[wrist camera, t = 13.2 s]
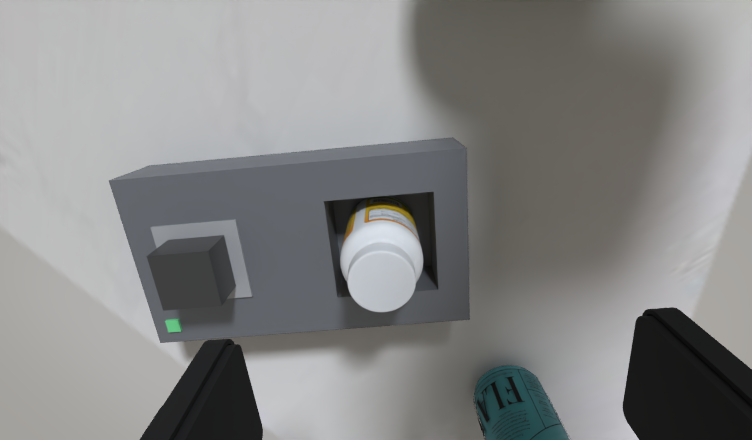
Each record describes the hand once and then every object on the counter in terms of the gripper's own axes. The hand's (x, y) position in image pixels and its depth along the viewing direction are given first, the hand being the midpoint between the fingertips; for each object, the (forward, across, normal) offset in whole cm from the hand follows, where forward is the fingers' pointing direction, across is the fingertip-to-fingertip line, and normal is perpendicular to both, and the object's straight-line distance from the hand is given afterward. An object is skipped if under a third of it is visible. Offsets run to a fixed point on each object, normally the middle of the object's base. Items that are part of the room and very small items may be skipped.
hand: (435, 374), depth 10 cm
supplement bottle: (+22, +2, +5) cm, 23 cm away
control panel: (+23, +8, +5) cm, 25 cm away
